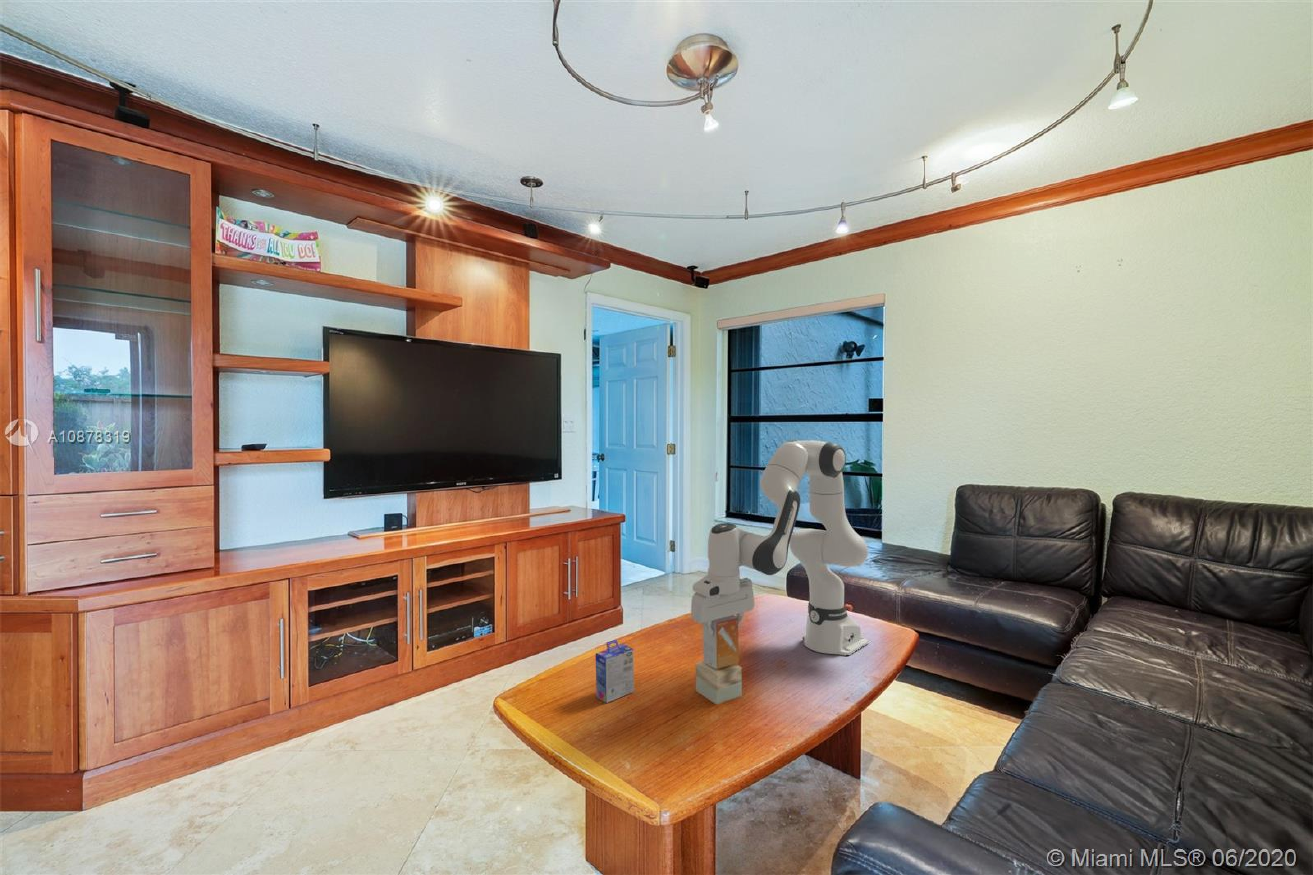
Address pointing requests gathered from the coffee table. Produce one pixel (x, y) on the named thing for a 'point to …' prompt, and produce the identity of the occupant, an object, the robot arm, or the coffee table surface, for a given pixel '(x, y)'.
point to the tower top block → (719, 675)
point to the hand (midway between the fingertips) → (723, 631)
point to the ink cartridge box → (614, 672)
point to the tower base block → (719, 692)
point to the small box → (721, 643)
